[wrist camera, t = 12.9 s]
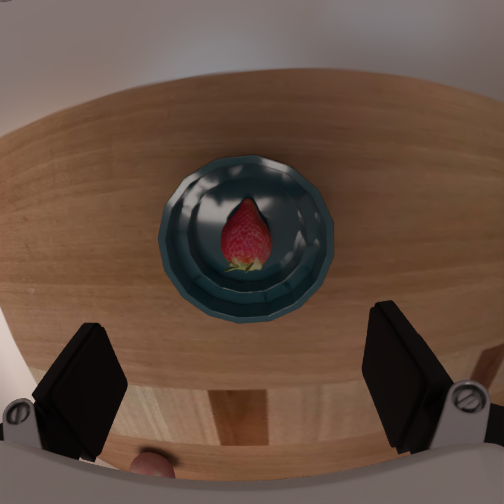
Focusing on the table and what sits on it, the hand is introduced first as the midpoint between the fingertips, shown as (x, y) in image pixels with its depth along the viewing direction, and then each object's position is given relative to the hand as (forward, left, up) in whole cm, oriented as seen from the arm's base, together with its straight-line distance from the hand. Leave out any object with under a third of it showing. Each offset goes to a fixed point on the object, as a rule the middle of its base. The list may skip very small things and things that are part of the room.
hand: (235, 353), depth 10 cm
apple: (+39, -20, -18) cm, 47 cm away
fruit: (+1, 0, -18) cm, 18 cm away
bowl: (+1, 0, -18) cm, 18 cm away
